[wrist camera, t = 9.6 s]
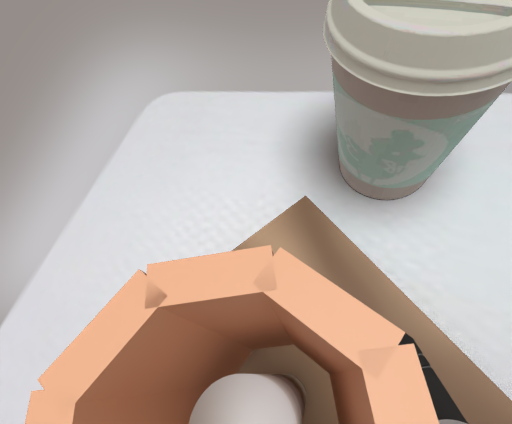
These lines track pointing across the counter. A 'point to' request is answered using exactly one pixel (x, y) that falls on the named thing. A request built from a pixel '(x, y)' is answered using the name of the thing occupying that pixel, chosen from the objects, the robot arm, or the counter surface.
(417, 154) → the coffee cup
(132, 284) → the collar
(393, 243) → the counter surface
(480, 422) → the post
